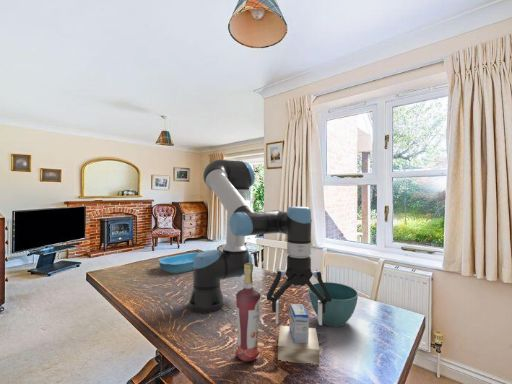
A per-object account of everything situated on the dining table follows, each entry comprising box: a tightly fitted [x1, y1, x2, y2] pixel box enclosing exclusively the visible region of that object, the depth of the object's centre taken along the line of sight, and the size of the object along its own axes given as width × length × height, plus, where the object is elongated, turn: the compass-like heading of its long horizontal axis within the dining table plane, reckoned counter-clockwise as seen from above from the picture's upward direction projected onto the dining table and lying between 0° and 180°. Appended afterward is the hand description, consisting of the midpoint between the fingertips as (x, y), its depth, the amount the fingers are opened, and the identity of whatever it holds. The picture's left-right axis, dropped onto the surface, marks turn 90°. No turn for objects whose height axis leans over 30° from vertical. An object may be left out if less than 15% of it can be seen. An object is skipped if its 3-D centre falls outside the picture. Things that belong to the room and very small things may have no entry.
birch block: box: [277, 324, 320, 365], centre depth 81 cm, size 12×12×5 cm
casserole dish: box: [158, 252, 199, 274], centre depth 171 cm, size 37×22×7 cm, turn 140°
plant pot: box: [308, 281, 359, 328], centre depth 100 cm, size 18×18×12 cm
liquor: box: [235, 262, 261, 363], centre depth 77 cm, size 7×7×28 cm
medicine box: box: [289, 303, 310, 343], centre depth 81 cm, size 8×4×9 cm, turn 4°
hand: (298, 322), depth 81 cm, fingers open, 13 cm apart
